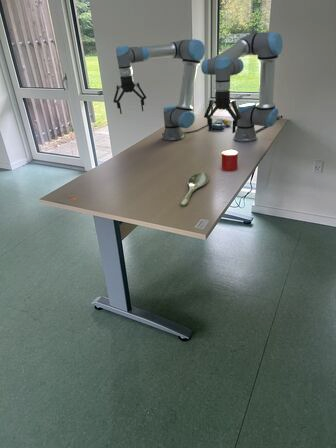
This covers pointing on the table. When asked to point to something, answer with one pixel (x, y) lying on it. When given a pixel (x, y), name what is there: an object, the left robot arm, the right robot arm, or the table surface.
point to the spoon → (195, 184)
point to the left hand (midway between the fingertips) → (131, 112)
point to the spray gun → (221, 123)
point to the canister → (229, 160)
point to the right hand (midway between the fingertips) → (222, 131)
